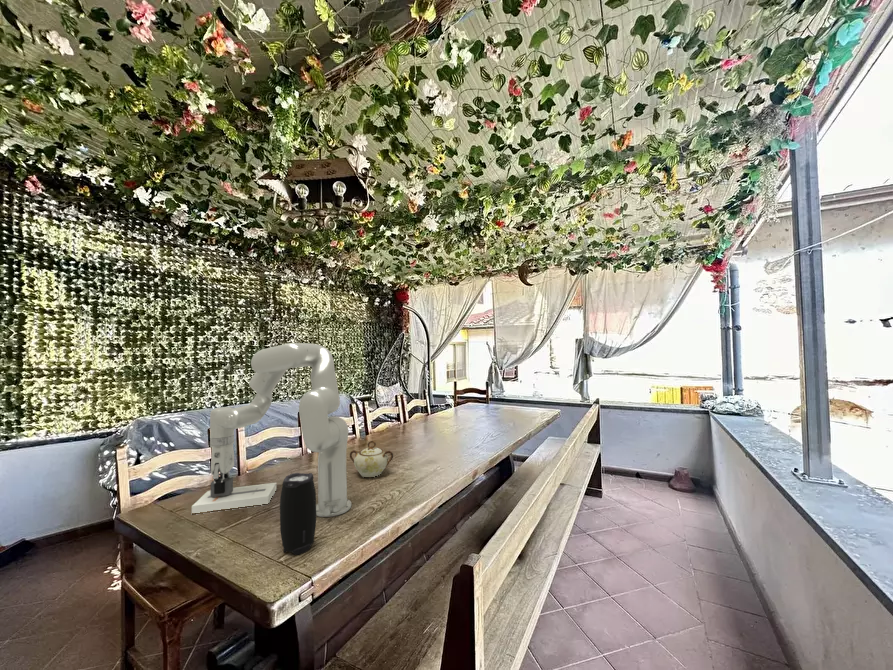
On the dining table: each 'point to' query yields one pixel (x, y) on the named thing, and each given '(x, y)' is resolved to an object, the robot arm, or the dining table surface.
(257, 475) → the dining table surface
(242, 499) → the board
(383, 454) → the sugar bowl
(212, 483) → the fader tab
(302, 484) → the portable speaker
